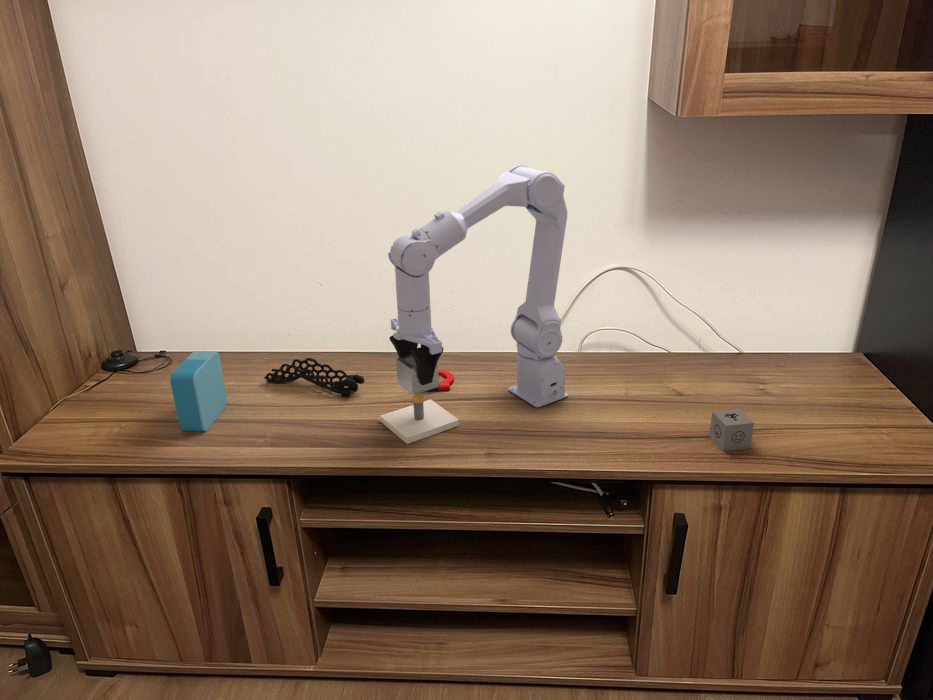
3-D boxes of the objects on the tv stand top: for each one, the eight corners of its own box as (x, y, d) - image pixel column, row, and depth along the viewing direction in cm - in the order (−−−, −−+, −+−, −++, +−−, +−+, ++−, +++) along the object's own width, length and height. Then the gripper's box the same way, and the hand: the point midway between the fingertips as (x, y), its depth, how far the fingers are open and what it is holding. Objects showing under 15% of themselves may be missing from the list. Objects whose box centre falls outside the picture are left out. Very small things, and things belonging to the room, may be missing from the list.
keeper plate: (459, 425, 132) (458, 395, 130) (406, 444, 126) (404, 413, 124) (430, 404, 140) (429, 376, 137) (380, 421, 134) (378, 391, 132)
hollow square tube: (438, 386, 129) (437, 361, 127) (412, 394, 126) (411, 369, 124) (423, 376, 133) (422, 351, 131) (397, 383, 131) (396, 358, 129)
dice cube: (735, 433, 127) (739, 408, 125) (750, 448, 123) (754, 422, 121) (709, 436, 126) (712, 411, 124) (722, 451, 122) (726, 425, 120)
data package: (206, 403, 143) (195, 348, 138) (228, 403, 142) (218, 348, 137) (180, 434, 132) (168, 375, 127) (204, 434, 131) (193, 375, 126)
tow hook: (414, 374, 153) (412, 392, 145) (411, 317, 149) (409, 332, 140) (453, 373, 153) (454, 391, 145) (452, 316, 149) (452, 331, 140)
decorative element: (262, 387, 149) (258, 361, 147) (276, 376, 154) (272, 351, 151) (358, 402, 142) (356, 376, 140) (370, 391, 146) (368, 365, 144)
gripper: (373, 299, 127) (379, 369, 133) (414, 323, 116) (419, 398, 122) (408, 291, 131) (412, 359, 136) (451, 314, 120) (453, 387, 125)
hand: (417, 377), depth 129 cm, fingers closed on hollow square tube, 5 cm apart
